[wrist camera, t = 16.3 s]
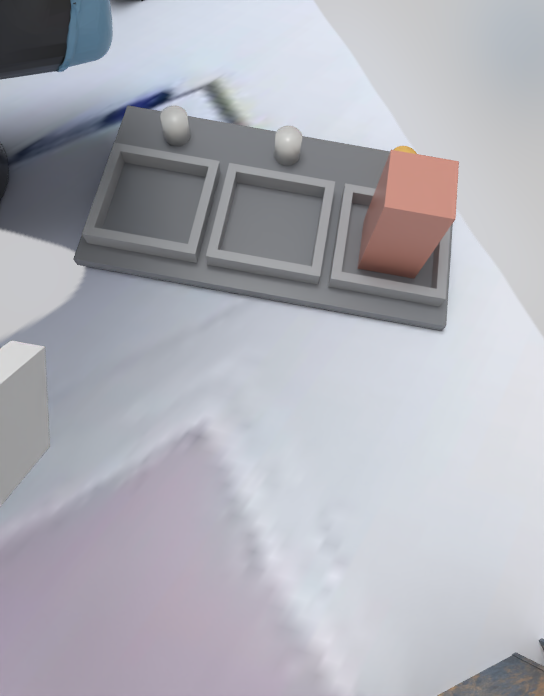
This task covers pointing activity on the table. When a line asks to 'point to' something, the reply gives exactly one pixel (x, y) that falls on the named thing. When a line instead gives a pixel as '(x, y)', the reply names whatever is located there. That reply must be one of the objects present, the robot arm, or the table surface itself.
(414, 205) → the salmon pink square prism
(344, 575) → the table surface
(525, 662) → the dark grey upright slab
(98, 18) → the robot arm
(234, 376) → the table surface
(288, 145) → the grey compartment tray
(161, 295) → the table surface
